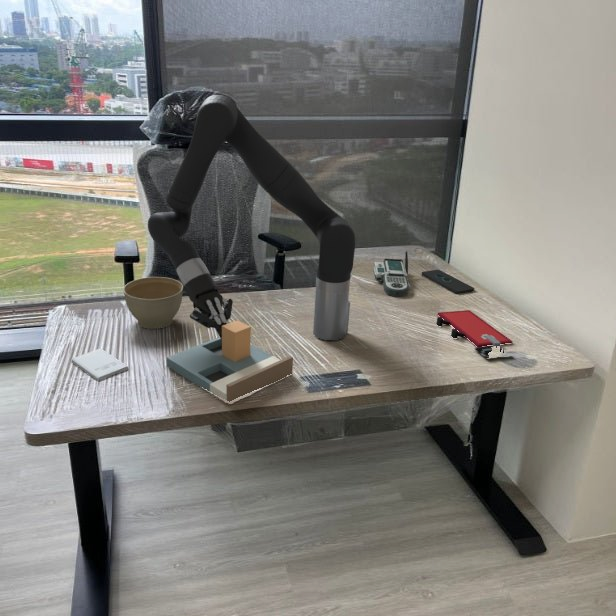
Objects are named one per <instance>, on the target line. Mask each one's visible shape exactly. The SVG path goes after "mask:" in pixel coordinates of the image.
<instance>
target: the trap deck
mask: <svg viewBox="0 0 616 616" xmlns="http://www.w3.org/2000/svg"><path fill="white" fill-rule="evenodd" d="M293 364H294V357H293V356H291V355H289V356H287V357H285V358H282V359H280V358H277V357H276V356H274V355H272V354H269V353H268V352H266V351H264V350H262V349H260V348H259V347H256V346H254V345H253V344H251V346H250V356H248V357H245V358H243V359H241V360H238V361H236V362H234V361H233V360H231V359H229V358H227V357H226V356H224V355H222V339H221V338H220V337H219V336H218V337H217V338H213V339H211V340H208V341H206V342H203V343H201V344H197V345H195V346H192V347H189V348H188V349H185V350H181V351H180V352H177V353H174V354H172V355H169V356H166V366H167V368H169V369H171V370H172V369H173V370H172V371H174V372H175V373H177V374H179V375H180V376H182V377H183V378H185V379H186V380H188V381H190V382H191V383H193V384H194V385H196V386H198V387H199V386H201V387H203V388H204V389H207V390H208V391H210V392H212V393H213V394H215V395H217V396H219V397H221V398H223V399H225V400H227V401H229V402H230V401H232V400H234V399H236V398H238V397H240V396H243V395H245V394H247V393H250V392H252V391H254V390H257V389H259V388H262V387H264V386H266V385H269V384H271V383H274V382H276V381H278V380H280V379H282V378H284V377H286V376H287V375H290V374H292V375H293V371H294V370H293V366H294V365H293ZM201 387H200V388H201ZM204 389H203V390H204Z"/></svg>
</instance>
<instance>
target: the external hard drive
mask: <svg viewBox="0 0 616 616" xmlns="http://www.w3.org/2000/svg"><path fill="white" fill-rule="evenodd" d="M70 361H71V363H72V364H73V365H74V366H76V367H78V368H79V369H80V370H82V371H84V372H85V373H86V374H88V375H89V376H90V377H92V378H94V380H96V381H102V380H104V379H106V378H110V377H112V376H113V375H117V374H119V373H122V372H125V371H126V370H127V371H128V370H129V366H128V365H127V364H125V363H123V362H122V361H120V360H119V359H117V358H116V357H115V356H113V355H111V354H110V353H109V352H107V351H105V350H104V349H103V348H97V349H95V350H91V351H89V352H86V353H83V354H81V355H80V354H79V355H78V356H75V357H72V358H71V360H70Z"/></svg>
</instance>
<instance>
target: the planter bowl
mask: <svg viewBox="0 0 616 616" xmlns="http://www.w3.org/2000/svg"><path fill="white" fill-rule="evenodd" d="M183 291H184V287H183V285H182V283H181V281H180V280H177V279H174V278H172V277H171V278H170V277H165V276H149V277H147V276H146V277H140V278H137V279H135V280H132V281H129V282H127V284H125V285H124V286H123V295H124V298H125V304H126V306H127V308H128V310H129V312H130V313H131V315H132V317H133V318H134V319H136V321H137V323H138V325H139V326H141V328H145V329H147V330H148V329H150V330H157V329H162V328H167V327H168V326H170V325H171V324H172V323H173V321H174V318H175V317H176V315H177V314H178V312H179V309H180V307H181V305H182V301H183Z"/></svg>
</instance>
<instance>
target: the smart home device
mask: <svg viewBox="0 0 616 616" xmlns="http://www.w3.org/2000/svg"><path fill="white" fill-rule="evenodd" d="M421 276H422V277H424V278H425V279H427V280H428V281H429V280H430V281H431V282H433V283H435V284H436V285H438V286H439V287H442V288H443V289H446V290H447V291H449V292H451V293H453V294H455V295H463V294H468V293H469V292H470V293H474V292H475V287H473V286H471V285H469V284H468V283H465V282H464V281H462V280H460V279H458V278H456V277H454V276H452V275H450V274H448V273H446V272H445V271H443V270H440V269H431V270H426V271H421ZM473 291H474V292H473ZM470 293H469V294H470Z"/></svg>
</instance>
